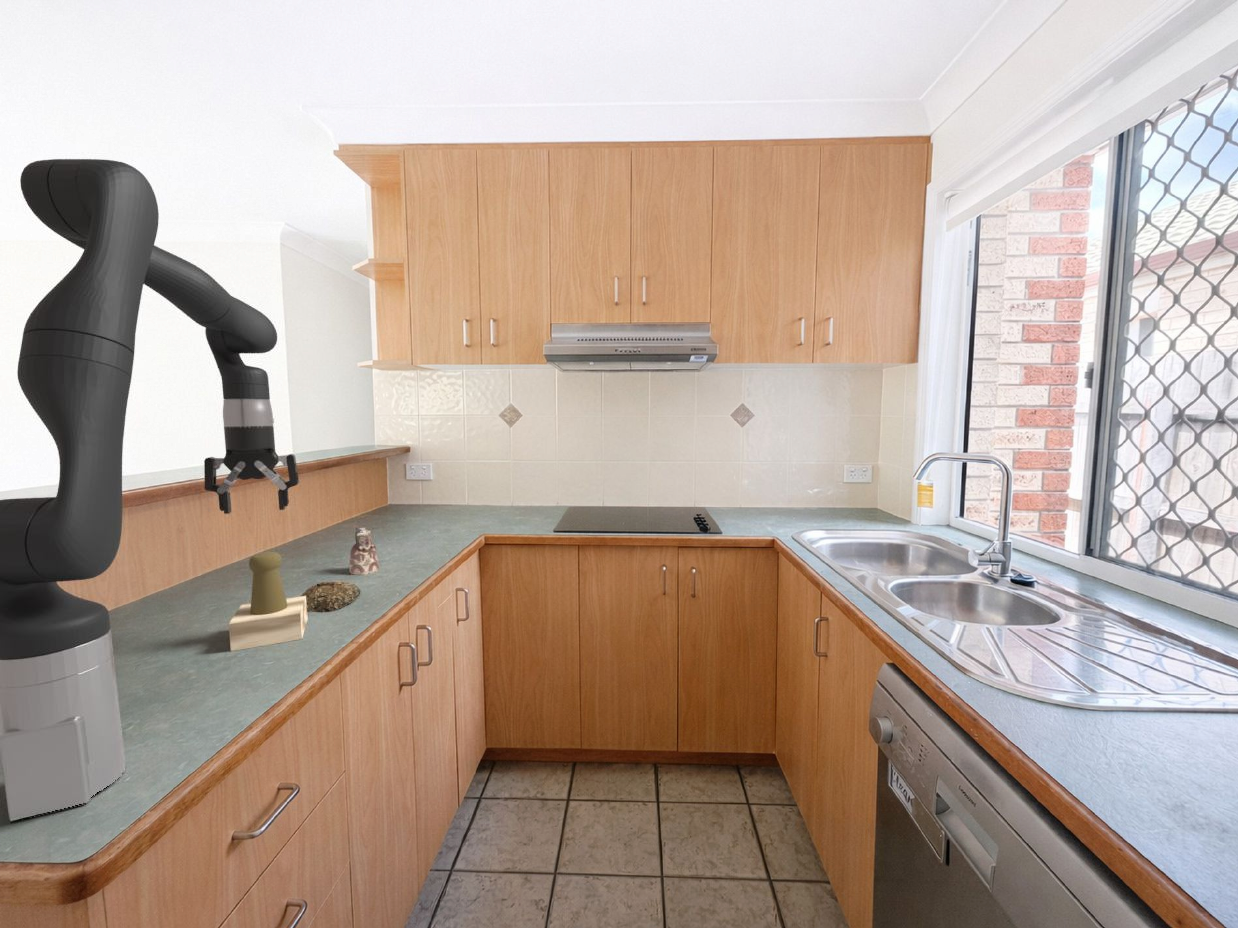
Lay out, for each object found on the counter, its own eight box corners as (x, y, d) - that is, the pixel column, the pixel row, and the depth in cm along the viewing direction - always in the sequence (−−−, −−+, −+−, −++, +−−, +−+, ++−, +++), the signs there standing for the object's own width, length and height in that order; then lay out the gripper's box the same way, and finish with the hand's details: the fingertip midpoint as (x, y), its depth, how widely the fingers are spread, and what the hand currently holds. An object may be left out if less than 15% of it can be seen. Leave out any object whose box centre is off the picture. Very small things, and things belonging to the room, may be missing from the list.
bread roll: (368, 593, 125) (367, 573, 125) (340, 613, 113) (338, 591, 113) (314, 594, 126) (313, 574, 125) (280, 614, 113) (279, 591, 113)
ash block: (302, 639, 99) (300, 613, 99) (230, 651, 95) (228, 624, 94) (307, 618, 109) (306, 595, 109) (243, 628, 105) (241, 604, 104)
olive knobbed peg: (269, 615, 98) (264, 557, 97) (241, 613, 99) (237, 556, 98) (295, 604, 104) (291, 549, 103) (269, 602, 105) (265, 548, 104)
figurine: (353, 576, 138) (350, 531, 137) (346, 570, 143) (343, 527, 142) (382, 571, 143) (379, 527, 142) (374, 565, 148) (371, 523, 147)
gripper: (194, 425, 91) (202, 518, 92) (291, 423, 97) (297, 511, 98) (207, 425, 98) (214, 511, 99) (296, 423, 104) (302, 505, 105)
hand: (255, 511), depth 99 cm, fingers open, 8 cm apart
